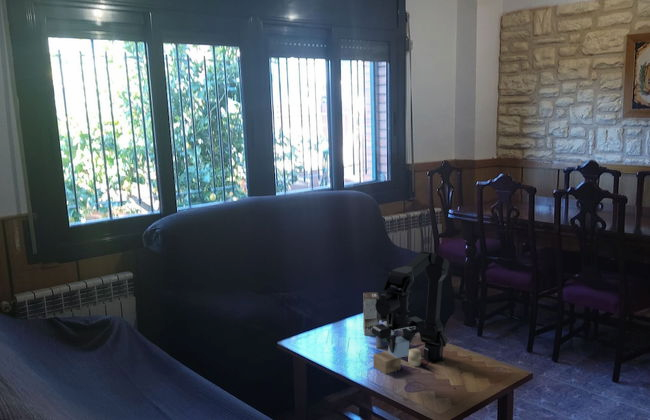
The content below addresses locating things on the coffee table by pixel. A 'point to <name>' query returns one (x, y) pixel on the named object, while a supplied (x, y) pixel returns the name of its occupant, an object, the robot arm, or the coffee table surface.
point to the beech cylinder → (414, 357)
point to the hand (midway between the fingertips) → (398, 350)
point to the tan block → (386, 362)
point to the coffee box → (369, 312)
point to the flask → (383, 342)
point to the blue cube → (400, 347)
